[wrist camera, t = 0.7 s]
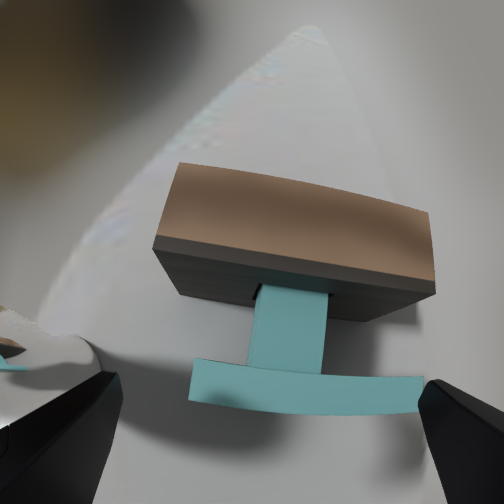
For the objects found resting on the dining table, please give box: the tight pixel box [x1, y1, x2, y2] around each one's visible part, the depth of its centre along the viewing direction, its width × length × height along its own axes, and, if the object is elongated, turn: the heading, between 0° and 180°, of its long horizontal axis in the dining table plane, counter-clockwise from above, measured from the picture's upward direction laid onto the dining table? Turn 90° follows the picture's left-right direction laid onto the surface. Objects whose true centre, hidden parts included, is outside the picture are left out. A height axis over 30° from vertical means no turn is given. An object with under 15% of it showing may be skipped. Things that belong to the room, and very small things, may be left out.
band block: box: [152, 162, 436, 322], centre depth 20 cm, size 6×16×10 cm, turn 82°
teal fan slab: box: [188, 283, 424, 416], centre depth 16 cm, size 7×9×13 cm
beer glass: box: [0, 305, 101, 425], centre depth 13 cm, size 7×7×15 cm
